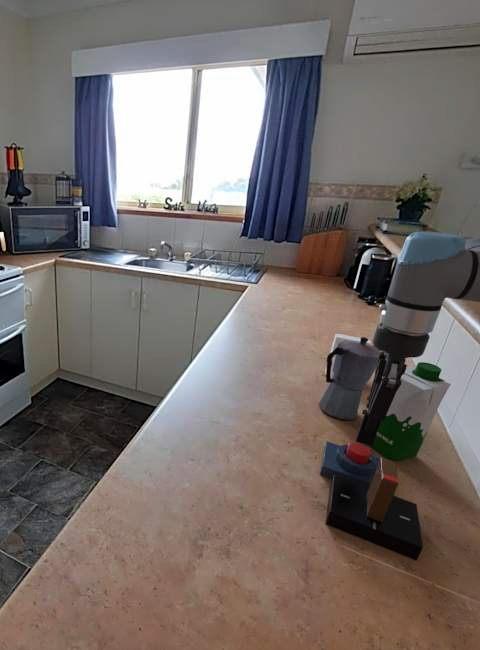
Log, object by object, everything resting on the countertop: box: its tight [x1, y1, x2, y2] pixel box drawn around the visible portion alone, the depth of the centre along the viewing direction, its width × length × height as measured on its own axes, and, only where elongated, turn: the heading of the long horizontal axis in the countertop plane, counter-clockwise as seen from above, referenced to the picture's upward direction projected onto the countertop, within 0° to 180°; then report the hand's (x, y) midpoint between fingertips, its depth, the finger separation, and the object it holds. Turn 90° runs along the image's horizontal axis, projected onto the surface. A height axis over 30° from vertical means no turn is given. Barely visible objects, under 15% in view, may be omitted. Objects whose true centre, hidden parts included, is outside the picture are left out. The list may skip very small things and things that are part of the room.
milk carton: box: [369, 361, 452, 463], centre depth 82 cm, size 9×9×20 cm
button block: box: [319, 440, 381, 487], centre depth 78 cm, size 11×9×4 cm
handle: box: [367, 457, 399, 522], centre depth 65 cm, size 6×2×8 cm, turn 151°
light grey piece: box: [324, 333, 372, 379], centre depth 114 cm, size 9×9×12 cm
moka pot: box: [318, 336, 382, 421], centre depth 95 cm, size 10×15×20 cm, turn 112°
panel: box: [325, 475, 424, 561], centre depth 67 cm, size 13×10×3 cm
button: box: [346, 442, 372, 464], centre depth 77 cm, size 4×4×2 cm
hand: (363, 442), depth 76 cm, fingers closed
